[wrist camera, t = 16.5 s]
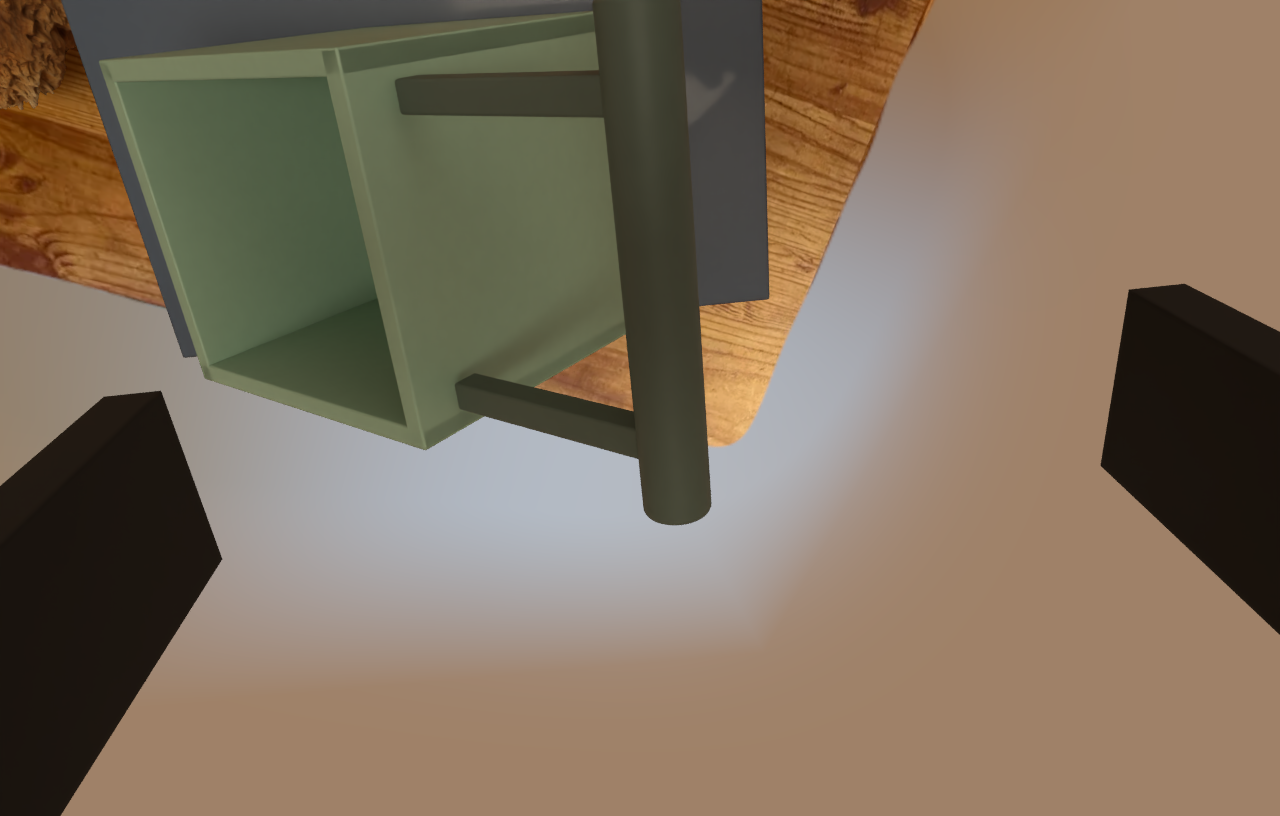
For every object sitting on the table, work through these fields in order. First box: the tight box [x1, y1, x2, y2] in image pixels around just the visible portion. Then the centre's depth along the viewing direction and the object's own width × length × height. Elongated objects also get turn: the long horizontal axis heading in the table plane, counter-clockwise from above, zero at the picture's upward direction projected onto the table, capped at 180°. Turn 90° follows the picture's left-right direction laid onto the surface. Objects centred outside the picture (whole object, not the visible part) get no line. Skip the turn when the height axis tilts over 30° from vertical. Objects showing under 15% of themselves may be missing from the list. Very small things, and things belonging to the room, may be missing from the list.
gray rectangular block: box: [61, 0, 769, 358], centre depth 43 cm, size 25×14×20 cm, turn 95°
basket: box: [99, 0, 711, 525], centre depth 25 cm, size 19×11×10 cm
